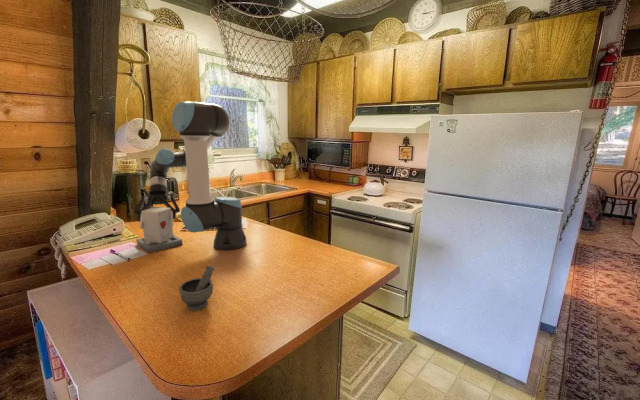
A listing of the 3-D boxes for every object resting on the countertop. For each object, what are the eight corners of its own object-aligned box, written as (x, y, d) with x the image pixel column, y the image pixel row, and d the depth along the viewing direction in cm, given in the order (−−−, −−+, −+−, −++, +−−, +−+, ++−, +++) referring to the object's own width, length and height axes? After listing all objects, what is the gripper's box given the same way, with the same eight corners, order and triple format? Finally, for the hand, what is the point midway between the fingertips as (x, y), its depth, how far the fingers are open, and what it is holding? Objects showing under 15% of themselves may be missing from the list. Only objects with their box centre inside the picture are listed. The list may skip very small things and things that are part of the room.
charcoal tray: (182, 244, 144) (182, 239, 143) (148, 253, 133) (147, 247, 132) (170, 236, 154) (169, 232, 153) (137, 244, 143) (136, 239, 142)
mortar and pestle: (189, 318, 88) (185, 281, 85) (175, 305, 94) (171, 270, 91) (223, 302, 96) (221, 268, 93) (208, 292, 102) (206, 259, 99)
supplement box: (160, 243, 137) (157, 212, 134) (144, 241, 139) (140, 210, 136) (174, 237, 146) (171, 207, 143) (158, 235, 148) (155, 206, 144)
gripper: (185, 190, 156) (186, 227, 146) (131, 193, 148) (128, 232, 137) (183, 182, 150) (184, 219, 140) (128, 184, 142) (124, 224, 131)
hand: (157, 226), depth 139 cm, fingers closed on supplement box, 12 cm apart
